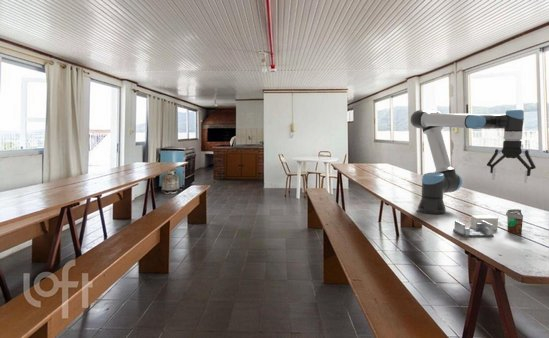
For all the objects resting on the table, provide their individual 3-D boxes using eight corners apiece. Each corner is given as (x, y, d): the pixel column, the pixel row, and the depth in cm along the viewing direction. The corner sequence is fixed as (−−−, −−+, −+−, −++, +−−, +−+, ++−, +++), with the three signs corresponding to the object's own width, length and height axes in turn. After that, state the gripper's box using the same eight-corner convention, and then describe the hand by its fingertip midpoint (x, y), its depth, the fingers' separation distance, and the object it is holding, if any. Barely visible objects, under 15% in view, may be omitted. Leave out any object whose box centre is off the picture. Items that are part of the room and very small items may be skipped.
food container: (504, 227, 158) (505, 207, 157) (519, 229, 154) (521, 209, 153) (505, 233, 148) (506, 213, 147) (521, 236, 144) (523, 215, 143)
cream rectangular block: (476, 229, 155) (476, 218, 154) (470, 226, 159) (471, 215, 159) (497, 230, 154) (498, 218, 153) (490, 227, 159) (491, 215, 158)
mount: (463, 237, 144) (464, 225, 143) (453, 230, 153) (453, 220, 152) (493, 236, 144) (494, 225, 143) (481, 230, 153) (482, 219, 152)
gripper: (482, 139, 167) (479, 179, 169) (543, 140, 149) (539, 184, 152) (485, 139, 172) (482, 177, 175) (545, 140, 154) (541, 182, 157)
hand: (509, 180), depth 163 cm, fingers open, 13 cm apart
